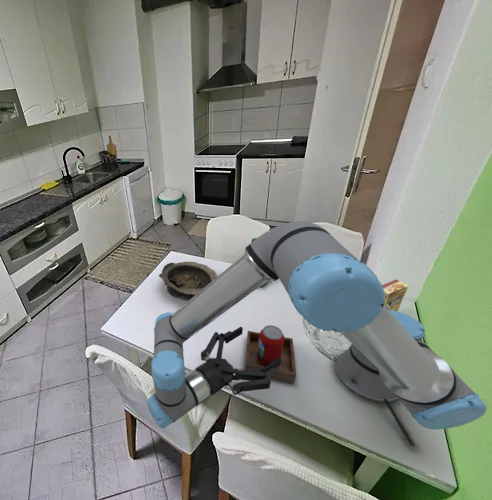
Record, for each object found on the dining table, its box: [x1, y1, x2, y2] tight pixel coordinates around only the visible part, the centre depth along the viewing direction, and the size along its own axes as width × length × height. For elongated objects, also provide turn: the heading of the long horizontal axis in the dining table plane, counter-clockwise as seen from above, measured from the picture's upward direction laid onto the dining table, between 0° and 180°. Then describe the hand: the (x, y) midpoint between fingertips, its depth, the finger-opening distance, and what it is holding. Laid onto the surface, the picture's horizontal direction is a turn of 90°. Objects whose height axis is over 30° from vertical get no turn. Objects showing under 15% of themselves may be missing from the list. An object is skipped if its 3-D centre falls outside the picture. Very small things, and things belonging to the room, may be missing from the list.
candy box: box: [382, 279, 410, 312], centre depth 92 cm, size 9×4×15 cm, turn 110°
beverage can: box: [257, 324, 285, 365], centre depth 85 cm, size 7×7×12 cm
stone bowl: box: [158, 261, 218, 301], centre depth 121 cm, size 25×25×9 cm
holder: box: [244, 330, 297, 385], centre depth 87 cm, size 14×14×4 cm
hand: (259, 344), depth 81 cm, fingers open, 13 cm apart
